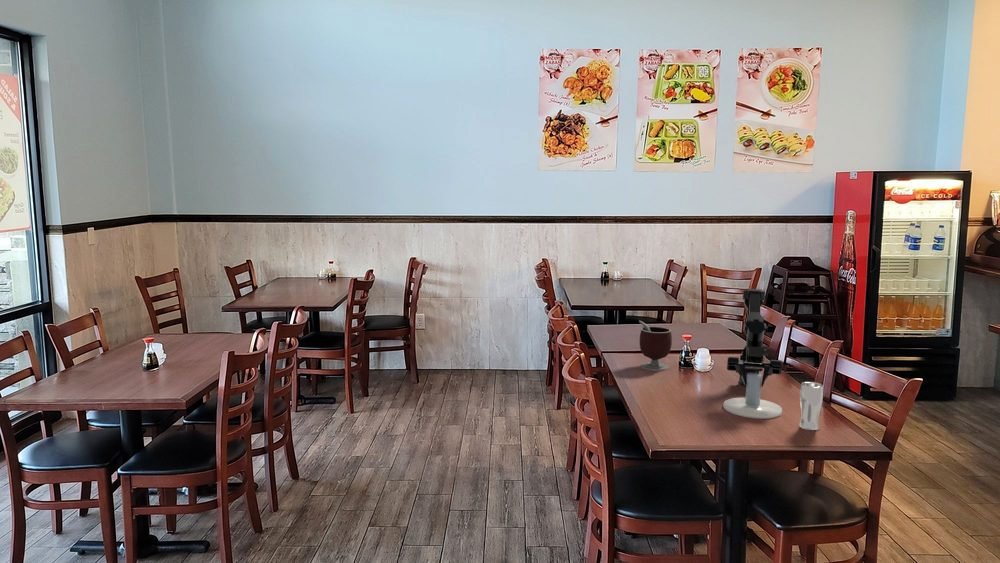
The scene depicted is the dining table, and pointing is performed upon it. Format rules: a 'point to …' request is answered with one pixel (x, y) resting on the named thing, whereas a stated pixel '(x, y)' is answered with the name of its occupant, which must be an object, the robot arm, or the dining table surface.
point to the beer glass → (810, 405)
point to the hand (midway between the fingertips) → (753, 385)
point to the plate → (752, 409)
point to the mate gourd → (655, 346)
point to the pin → (753, 389)
